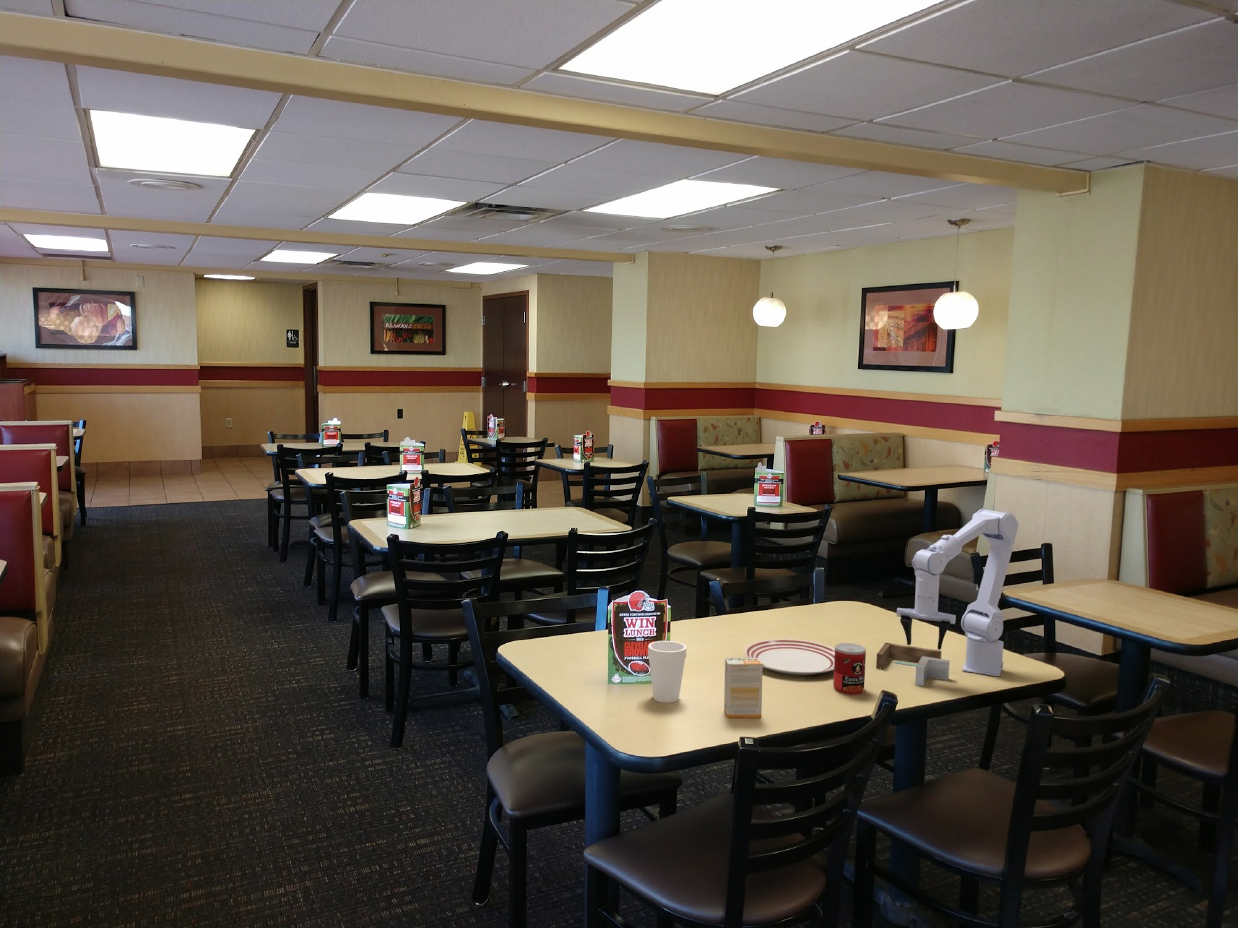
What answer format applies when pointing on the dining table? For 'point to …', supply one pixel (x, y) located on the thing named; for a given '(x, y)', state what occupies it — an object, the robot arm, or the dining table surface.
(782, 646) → the dinner plate
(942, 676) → the bracket
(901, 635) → the dining table surface
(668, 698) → the foam cup
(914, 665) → the pose mark
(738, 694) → the supplement box
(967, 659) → the robot arm
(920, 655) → the brown wooden l-shape
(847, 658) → the canned food
